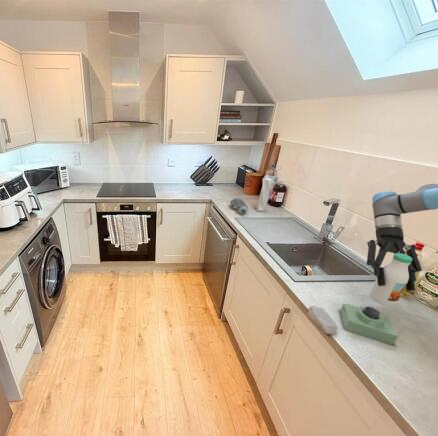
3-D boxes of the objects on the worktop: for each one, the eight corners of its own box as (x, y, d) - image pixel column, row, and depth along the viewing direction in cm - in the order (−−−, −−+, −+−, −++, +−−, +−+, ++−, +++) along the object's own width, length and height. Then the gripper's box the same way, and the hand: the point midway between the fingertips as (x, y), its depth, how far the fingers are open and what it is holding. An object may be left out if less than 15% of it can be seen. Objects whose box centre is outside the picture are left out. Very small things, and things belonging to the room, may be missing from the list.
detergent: (228, 204, 204) (233, 214, 181) (230, 196, 201) (235, 206, 178) (244, 206, 203) (251, 217, 180) (246, 198, 200) (253, 208, 177)
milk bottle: (374, 304, 89) (397, 260, 81) (364, 291, 96) (383, 248, 88) (400, 309, 87) (425, 263, 79) (387, 295, 93) (409, 252, 85)
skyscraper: (255, 207, 198) (261, 174, 187) (265, 208, 196) (273, 175, 185) (256, 211, 191) (263, 177, 179) (267, 212, 188) (274, 177, 177)
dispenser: (383, 323, 87) (389, 311, 85) (392, 344, 79) (400, 331, 77) (340, 310, 93) (345, 299, 91) (345, 329, 85) (350, 316, 83)
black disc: (375, 313, 85) (378, 308, 84) (379, 321, 82) (381, 316, 81) (361, 309, 87) (363, 305, 86) (364, 316, 83) (366, 312, 83)
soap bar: (329, 338, 85) (342, 332, 82) (313, 335, 85) (326, 328, 81) (317, 312, 93) (328, 305, 89) (303, 309, 92) (313, 302, 88)
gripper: (414, 235, 93) (424, 295, 85) (351, 228, 99) (355, 283, 91) (430, 229, 86) (442, 293, 78) (362, 222, 92) (367, 280, 84)
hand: (396, 287), depth 85 cm, fingers closed on milk bottle, 8 cm apart
